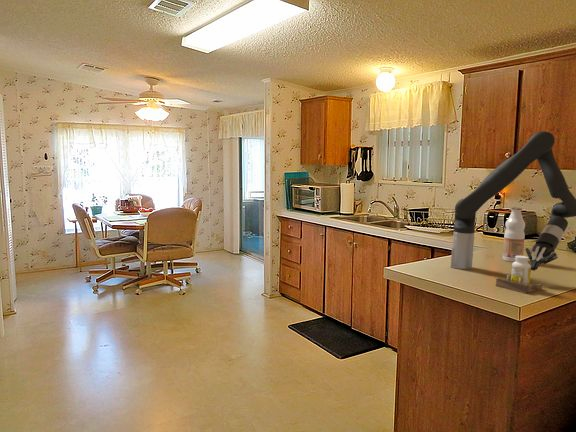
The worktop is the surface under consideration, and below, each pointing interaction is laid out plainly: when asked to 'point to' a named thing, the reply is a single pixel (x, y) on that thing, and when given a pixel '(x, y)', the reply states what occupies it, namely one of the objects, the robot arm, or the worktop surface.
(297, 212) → the worktop surface
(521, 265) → the supplement bottle
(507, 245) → the fruit juice
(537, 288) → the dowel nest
